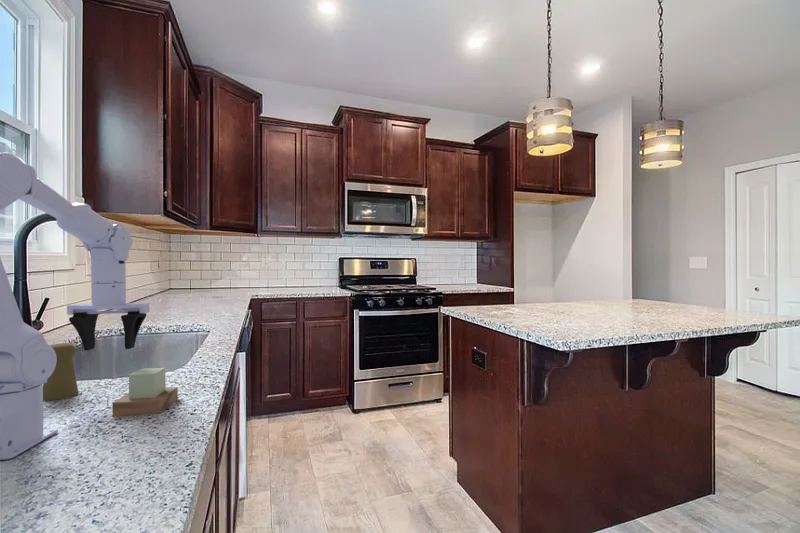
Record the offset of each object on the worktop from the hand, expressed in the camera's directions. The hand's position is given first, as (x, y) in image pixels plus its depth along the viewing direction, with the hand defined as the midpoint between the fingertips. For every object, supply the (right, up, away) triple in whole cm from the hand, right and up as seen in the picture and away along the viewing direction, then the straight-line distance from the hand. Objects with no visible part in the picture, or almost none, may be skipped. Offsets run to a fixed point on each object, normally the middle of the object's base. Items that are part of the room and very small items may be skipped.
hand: (109, 348), depth 81 cm
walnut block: (+11, -11, -5) cm, 16 cm away
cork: (-12, -11, +2) cm, 17 cm away
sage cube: (+11, -8, -5) cm, 14 cm away
